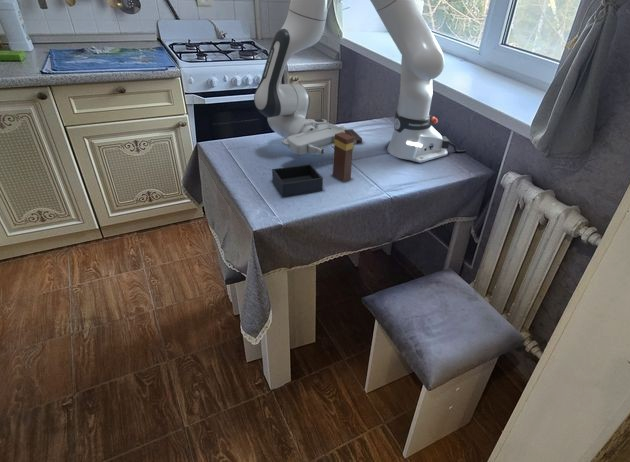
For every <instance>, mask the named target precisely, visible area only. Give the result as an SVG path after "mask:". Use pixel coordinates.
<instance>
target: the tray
mask: <svg viewBox="0 0 630 462" xmlns="http://www.w3.org/2000/svg"><path fill="white" fill-rule="evenodd" d="M271 174H272V175H271V176H272V177H271V179H272V183H273V184H274V186H275V187H276V189H277V191H278V192H279V193H280V195H281V197H282V198H284V197H291V196H297V195H304V194H309V193H316V192H322V191H323V187H324V185H323V184H324V181H323V179H324V178H323V177H322V176H321V174H320V173H319V172H318V170H316V168H315V167H314V166H313V165H312V163H307V164H301V165H293V166H286V167H285V166H284V167H278V168H271Z"/></svg>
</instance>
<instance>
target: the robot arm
mask: <svg viewBox="0 0 630 462" xmlns="http://www.w3.org/2000/svg"><path fill="white" fill-rule="evenodd" d="M332 1H333V0H290V2H289V8H288V12H287V16H286V19H285V21H284V23H283V25H282V27H281V28H280V29H279V30H278V31H277V32H276V33H275V34H274V37H273V39H272V42H271V45H270V49H269V52H268V54H267V58H266V62H265V65H264V69H263V72H262V75H261V78H260V81H259V83H258V86H257V87H256V89H255V91H254V96H253V103H254V106H255V108H256V110H257V111H258V112H259V114H261V115H262V116H263V117H265V118H266V119H267V120H266V121H267V124H268V126H269V127H270V128H271V130H272V131H273V132H274V133H276V134H277V135H279V136H280V137H282V138H283V139H282V140H281V144H282V145H284V146H286V147H287V149H288V151H290V152H291V153H293V154H294V155H296V156H303V155H305V154H308V153H310V154H316V155H319V156H322V155H323V154H325V150H324V149H325V148H327V147H331V146H334V139H335V134H337V133H341V132H344V130H343V129H341V128H340V126H337V125H335V124H334V123H330V122H328V120H326V119H324V118H323V119H322V118H321V119H319V118H318V119H311V118H307V115H308V113H309V110H310V106H311V99H310V98H311V97H310V93H309V92H308V90H307V88H306V87H305V86H304V85H302V84H301V83H281V82H282V79H283V75H284V73H285V70H286V66H287V63H288V61H289V60H290V59H291V57H292V56H293V55H295V54H297V53H299V52H301V51H303V50H306V49H309V48H311V47H313V46H315V45H316V44H318V42H320V40H321V39H322V36H323V34H324V32H325V27H326V23H327V16H328V12H329V8H330V5H331V3H332ZM369 1H370V3H371V5H372V6H373V8H374V10H375V12H376V13H377V15H378V17H379V19H380V20H381V22H382V23H383V26H384V27H385V28H386V31H387V32H388V35H389V36H390V37H391V39H392V41H393V43H394V44H395V46H396V48H397V50H398V51H399V53H400V55H401V60H400V61H401V63H400V64H401V65H400V79H399V80H400V83H399V84H400V85H399V93H398V103H397V108H396V111H395V115H394V120H393V131H392V135H391V138H390V141H389V143H388V146H387V147H386V150H387V153H389V154H390V155H391V156H393V157H396V158H399V159H401V160H407V161H412V162H414V163H419V164H421V163H424V162H428V161H431V160H434V159H439V158H442V157H445V156H448V149H449V146H450V145H451V146H452V147H453V151H454V152H455V153H457V154H460V153H467V149H461V150H458V149H457V145H455V143H453V142H452V141H450V139H448V138H447V136H446V135H441V133H440V132H439V131H438V130H436V128H435V127H434V126H433V125H436V124H437V123H438V122H439V120H438V118H437V117H435V116H432V115H430V111H431V106H432V99H433V95H434V91H433V80H434V79H436V78H438V77H439V76H440V75H441V74H442V72H443V70H444V68H445V57H444V56H445V55H444V52H443V50H442V48H441V46H440V44H439V43H438V41H437V39H436V37H435V35H434V33H433V32H432V30H431V28H430V27H429V25H428V23H427V21H426V20H425V18H424V16H423V14H422V13H421V10H420V8H419V6H418V5H417V3H416V1H415V0H369ZM432 124H433V125H432ZM344 133H345V132H344Z"/></svg>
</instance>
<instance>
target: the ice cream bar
mask: <svg viewBox="0 0 630 462" xmlns="http://www.w3.org/2000/svg"><path fill="white" fill-rule="evenodd" d="M339 127H340V128H341V129H343V130H344V132H345V133H346V134H348V135H350V136H352V137H354V145H361V144H362V143H363V138H362V137H361V136H360V135H359V133H357V132H356V131H355V130H354V129H353V128H350V129H349V128H348V129H347V128H346V127H345V126H344V125H340V126H339Z"/></svg>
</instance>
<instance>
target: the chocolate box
mask: <svg viewBox="0 0 630 462" xmlns="http://www.w3.org/2000/svg"><path fill="white" fill-rule="evenodd" d="M333 146H334V147H333V162H332V163H333V164H332V177H334V178H335V179H337V180H339V181H341V182H343V183H344V182H347V181H349V180H351V179H352V168H353V167H352V166H353V155H354V148H355V147H354V146H355V144H354V137H352V136H350V135H348V134H346V133H344V132H341V133H337V134H335V139H334V145H333Z"/></svg>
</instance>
